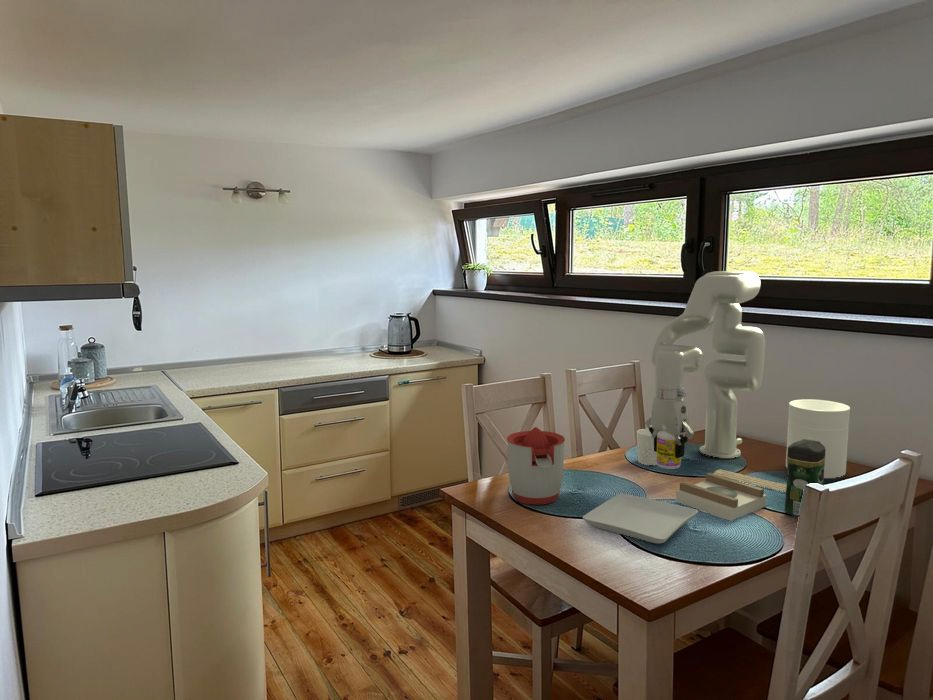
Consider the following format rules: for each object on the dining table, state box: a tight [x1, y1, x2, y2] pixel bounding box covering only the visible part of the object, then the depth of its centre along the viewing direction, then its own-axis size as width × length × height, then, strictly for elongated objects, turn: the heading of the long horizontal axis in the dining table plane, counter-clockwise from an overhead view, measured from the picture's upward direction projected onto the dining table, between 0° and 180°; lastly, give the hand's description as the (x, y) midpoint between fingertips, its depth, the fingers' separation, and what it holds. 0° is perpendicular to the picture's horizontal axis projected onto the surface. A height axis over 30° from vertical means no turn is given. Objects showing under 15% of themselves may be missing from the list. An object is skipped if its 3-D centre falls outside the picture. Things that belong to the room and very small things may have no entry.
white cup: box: [636, 428, 658, 466], centre depth 201 cm, size 8×8×10 cm
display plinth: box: [675, 472, 767, 522], centre depth 167 cm, size 16×16×5 cm
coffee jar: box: [784, 439, 825, 519], centre depth 159 cm, size 10×8×19 cm
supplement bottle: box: [656, 425, 682, 470], centre depth 181 cm, size 7×7×13 cm
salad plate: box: [582, 492, 699, 544], centre depth 155 cm, size 21×21×3 cm
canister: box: [785, 398, 851, 479], centre depth 191 cm, size 16×16×20 cm
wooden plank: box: [712, 469, 786, 492], centre depth 183 cm, size 24×7×2 cm, turn 43°
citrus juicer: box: [506, 426, 566, 505], centre depth 172 cm, size 16×17×20 cm
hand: (668, 453), depth 182 cm, fingers closed on supplement bottle, 6 cm apart
